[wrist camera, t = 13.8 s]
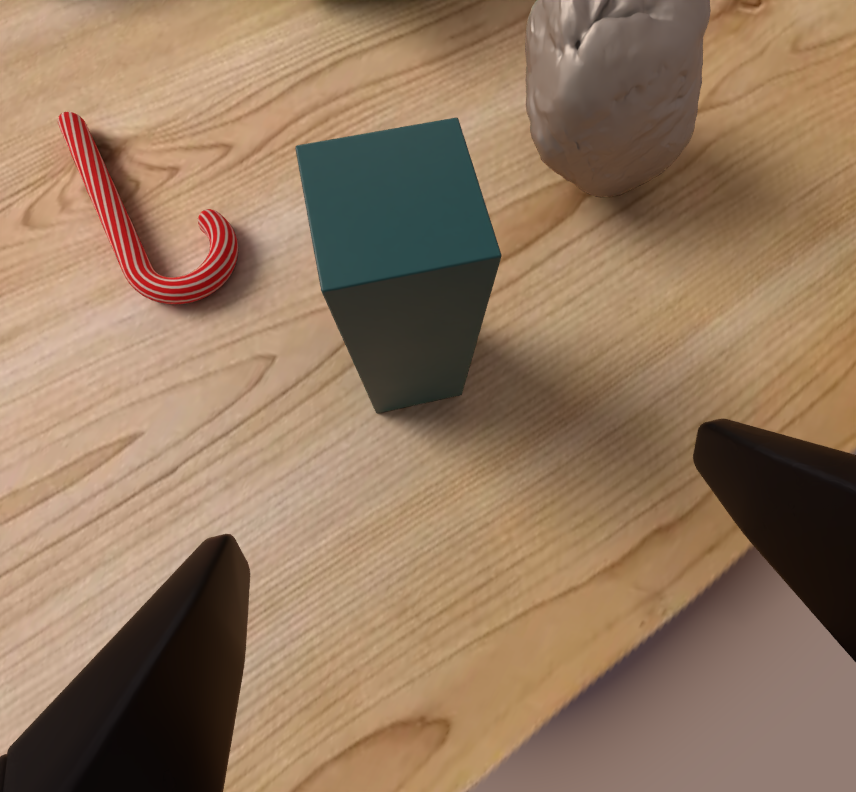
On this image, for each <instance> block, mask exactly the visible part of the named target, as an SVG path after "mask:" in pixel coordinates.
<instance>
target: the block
mask: <svg viewBox="0 0 856 792" xmlns="http://www.w3.org/2000/svg"><path fill="white" fill-rule="evenodd" d="M296 154H297V160H298V165H299V171H300V176H301V182H302V187H303V193H304V198H305V204H306V209H307V215H308V220H309V226H310V231H311V237H312V242H313V248H314V253H315V259H316V264H317V270H318V275H319V281H320V286H321V291H322V294H323V296H324V298H325V300H326V302H327V305H328V307H329V309H330V311H331V314H332V316H333V318H334V320H335V322H336V325H337V327H338V329H339V331H340V334H341V336H342V338H343V340H344V342H345V345H346V347H347V349H348V351H349V354H350V356H351V358H352V360H353V362H354V365H355V367H356V369H357V371H358V373H359V376H360V378H361V380H362V382H363V385H364V387H365V389H366V391H367V393H368V396H369V398H370V400H371V402H372V405H373V407H374V409H375V411H376V413H382V412H386V411H391V410H395V409H400V408H404V407H409V406H413V405H418V404H422V403H427V402H432V401H436V400H441V399H445V398H450V397H454V396H459V395H462V391H463V388H464V384H465V381H466V377H467V374H468V371H469V367H470V364H471V360H472V357H473V353H474V350H475V346H476V343H477V339H478V336H479V332H480V329H481V325H482V322H483V318H484V315H485V311H486V308H487V304H488V301H489V297H490V294H491V291H492V287H493V284H494V280H495V277H496V273H497V270H498V266H499V263H500V259H501V252H500V249H499V246H498V243H497V240H496V237H495V233H494V230H493V227H492V224H491V221H490V218H489V215H488V211H487V208H486V205H485V202H484V199H483V196H482V192H481V189H480V186H479V183H478V180H477V177H476V174H475V170H474V167H473V164H472V161H471V158H470V155H469V151H468V148H467V145H466V142H465V139H464V136H463V133H462V129H461V126H460V123H459V120H458V118H451V119H445V120H440V121H434V122H428V123H423V124H417V125H411V126H405V127H400V128H394V129H388V130H383V131H377V132H371V133H366V134H360V135H354V136H348V137H343V138H337V139H331V140H326V141H320V142H314V143H308V144H303V145H297V146H296Z"/></svg>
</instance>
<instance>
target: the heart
mask: <svg viewBox="0 0 856 792" xmlns="http://www.w3.org/2000/svg"><path fill="white" fill-rule="evenodd" d="M709 17H710V0H536V1H535V3H534V5H533V6H532V9H531V12H530V15H529V17H528V20H527V27H526V44H525V52H526V63H527V66H526V110H527V114H528V117H529V119H530V131H531V136H532V139H533V142H534V144H535V146H536V148H537V150H538V152H539V154H540V157H541V160H542V161H543V162H544V163H545V164H546V165H547V166H549V167H550V168H551V169H552V170H553V171H555V172H556V173H557V174H560V175H561V176H562V177H563V178H565V179H566V180H568V181H570V182H572V183H574V184H576V185H577V186H578V187H579V188H580V189H581V190H583V191H584V192H586V193H588V194H590V195H594V196H596V197H605V196H608V197H611V196H618V195H621V194H623V193H625V192H627V191H629V190H632V189H634V188H636V187H638V186H640V185H642V184H644V183H646V182H648V181H650V180H651V179H653V178H654V177H656V176H658V175H660V174H661V173H662V172H663V171H664V170H665V169H666V168H668V167H669V166H670V165H671V164H672V163H673V162H674V161H675V159H676V158H677V157H678V156H679V155H680V154H681V153H682V151H683V149H684V148H685V147H686V145H687V144H688V143H689V141H690V139H691V136H692V134H693V131H694V126H695V121H696V117H697V110H698V100H699V94H700V88H701V84H702V65H703V36H704V33H705V30H706V28H707V25H708V22H709Z"/></svg>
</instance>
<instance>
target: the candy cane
mask: <svg viewBox="0 0 856 792" xmlns="http://www.w3.org/2000/svg"><path fill="white" fill-rule="evenodd" d="M58 125H59V127H60V130H61V132H62V134H63V137H64V139H65V141H66V143H67V146H68V148H69V150H70V153H71V155H72V157H73V159H74V162H75V164H76V166H77V168H78V171H79V173H80V175H81V178H82V180H83V182H84V184H85V187H86V189H87V191H88V194H89V196H90V198H91V200H92V203H93V205H94V207H95V210H96V212H97V214H98V216H99V219H100V221H101V223H102V225H103V228H104V230H105V232H106V234H107V237H108V239H109V242H110V244H111V246H112V248H113V251H114V253H115V255H116V257H117V260H118V262H119V264H120V267H121V269H122V271H123V273H124V275H125V277H126V279H127V280H128V282H129V284H130V285H131V286H132V287H133V288H134V289H135V290H136V291H137V292H139V293H140V294H142V295H143V296H145V297H147V298H149V299H151V300H153V301H156V302H160V303H165V304H185V303H191V302H194V301H198V300H200V299H203V298H205V297H207V296H209V295H210V294H212V293H214V292H215V291H216V290H217V289H219V288H220V287H221V286H222V285H223V284H224V283H225V282H226V281H227V280H228V278H229V276H230V275H231V274H232V272H233V270H234V267H235V265H236V261H237V257H238V242H237V238H236V235H235V232H234V230H233V228H232V227H231V225H230V224H229V222H228V221H227V220H226V219H225V218H224V217H223V216H222V215H221V214H219V213H218V212H217V211H215V210H211V209H207V210H204V211H202V212H201V213H200V215H199V218H198V224H199V227H200V229H201V230H202V231H203V232H204V233H205V234H206V235H207V236H208V238H209V241H210V251H209V254H208V256H207V258H206V259H205V261H204V262H203V263H202V264H201V266H199V267H198V268H197V269H196V270H194V271H192V272H191V273H189V274H186V275H184V276H180V277H164V276H161V275H159V274H157V273H156V272H155V271H154V269H153V268H152V265H151V263H150V261H149V259H148V257H147V255H146V252H145V250H144V248H143V246H142V244H141V242H140V240H139V237H138V235H137V233H136V231H135V229H134V226H133V224H132V222H131V220H130V218H129V216H128V214H127V212H126V209H125V207H124V205H123V203H122V201H121V198H120V196H119V194H118V192H117V190H116V188H115V185H114V183H113V181H112V179H111V177H110V174H109V172H108V170H107V168H106V166H105V164H104V161H103V159H102V157H101V155H100V153H99V151H98V148H97V146H96V144H95V142H94V140H93V138H92V136H91V133H90V131H89V129H88V127H87V125H86V123H85V121H84V120H83V119H82V118H81V117H80V116H79V115H77V114H75V113H72V112H64V113H62V114H60V116H59V117H58Z"/></svg>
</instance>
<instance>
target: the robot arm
mask: <svg viewBox="0 0 856 792" xmlns="http://www.w3.org/2000/svg"><path fill="white" fill-rule="evenodd" d="M693 460H694V464H695V466H696V468H697V470H698V471H699V473H700V474H701V476H702V477H703V478H704V480H705V481H706V483H707V484H708V485H709V487H710V488H711V490H712V491H713V492H714V494H715V495H716V496H717V498H718V499H719V501H720V502H721V503H722V505H723V506H724V508H725V509H726V510H727V512H728V513H729V515H730V516H731V517H732V519H733V520H734V521H735V523H736V524H737V526H738V527H739V528H740V529H741V531H742V532H743V533H744V535H745V536H746V537H747V538H748V539H749V541H750V542H751V543H752V544H753V545H754V547H755V548H756V549H757V550H758V551H759V552H760V553H761V555H762V556H763V557H764V558H765V559H766V560H767V561H768V563H769V564H770V565H771V566H772V567H773V568H774V569H775V570H776V572H777V573H778V574H779V575H780V576H781V577H782V579H784V581H785V582H786V583H787V584H788V585H789V587H790V588H791V589H792V590H793V591H794V592H795V593H796V595H797V596H798V597H799V598H800V599H801V600H802V601H803V602H804V604H805V605H806V606H807V607H808V608H809V609H810V611H811V612H812V613H813V614H814V615H815V616H816V617H817V619H818V620H819V621H820V622H821V623H822V624H823V625H824V627H825V628H826V629H827V630H828V631H829V632H830V633H831V635H832V636H833V637H834V638H835V639H836V640H837V641H838V643H839V644H840V645H841V646H842V647H843V648H844V649H845V651H846V652H847V653H848V654H849V655H850V656H851V657H852V658H853V660H854V661H855V662H856V455H854V454H850V453H847V452H843V451H839V450H836V449H832V448H829V447H825V446H821V445H818V444H814V443H811V442H807V441H803V440H800V439H796V438H793V437H789V436H785V435H782V434H778V433H775V432H771V431H767V430H764V429H760V428H757V427H753V426H749V425H746V424H742V423H738V422H735V421H731V420H728V419H717V420H713V421H709V422H705V423H703V424H701V425H700V427H699V429H698V433H697V438H696V444H695V449H694V454H693ZM249 587H250V569H249V565H248V562H247V560H246V559H245V557H244V555H243V553H242V551H241V549H240V547H239V545H238V543H237V542H236V540H235V538H234V537H233V536H232V535H231V534H223V535H219V536H215V537H211V538H208V539H206V540H205V541H204V542H202V544H201V545H200V546H199V547H198V548H197V549H196V550H195V551H194V552H193V553H192V554H191V555H190V556H189V557H188V558H187V559H186V561H185V562H184V563H183V564H182V565H181V566H180V567H179V568H178V569H177V570H176V571H175V572H174V573H173V574H172V575H171V576H170V577H169V579H168V580H167V581H166V582H165V583H164V584H163V585H162V586H161V587H160V588H159V589H158V590H157V591H156V592H155V593H154V594H153V596H152V597H151V598H150V599H149V600H148V601H147V602H146V603H145V604H144V605H143V606H142V607H141V608H140V609H139V610H138V611H137V613H136V614H135V615H134V616H133V617H132V618H131V619H130V620H129V621H128V622H127V623H126V624H125V625H124V626H123V627H122V628H121V630H120V631H119V632H118V633H117V634H116V635H115V636H114V637H113V638H112V639H111V640H110V641H109V642H108V643H107V644H106V645H105V647H104V648H103V649H102V650H101V651H100V652H99V653H98V654H97V655H96V656H95V657H94V658H93V659H92V660H91V661H90V662H89V663H88V665H87V666H86V667H85V668H84V669H83V670H82V671H81V672H80V673H79V674H78V675H77V676H76V677H75V678H74V679H73V680H72V682H71V683H70V684H69V685H68V686H67V687H66V688H65V689H64V690H63V691H62V692H61V693H60V694H59V695H58V696H57V697H56V699H55V700H54V701H53V702H52V703H51V704H50V705H49V706H48V707H47V708H46V709H45V710H44V711H43V712H42V713H41V714H40V715H39V717H38V718H37V719H36V720H35V721H34V722H33V723H32V724H31V725H30V726H29V727H28V728H27V729H26V730H25V731H24V732H23V734H22V735H21V736H20V737H19V738H18V739H17V740H16V741H15V742H14V743H13V744H12V745H11V746H10V748H9V749H8V752H7V754H5V755H2V756H1V757H0V792H223V789H224V783H225V777H226V771H227V765H228V759H229V753H230V747H231V741H232V736H233V730H234V724H235V718H236V712H237V706H238V700H239V694H240V688H241V682H242V676H243V669H244V662H245V652H246V637H247V621H248V604H249Z"/></svg>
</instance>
